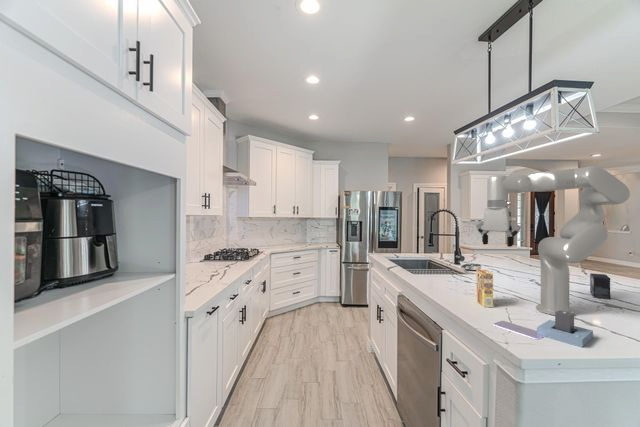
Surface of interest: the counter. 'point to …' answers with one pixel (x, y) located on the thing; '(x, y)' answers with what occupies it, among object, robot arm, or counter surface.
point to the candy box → (485, 288)
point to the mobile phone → (519, 330)
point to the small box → (600, 286)
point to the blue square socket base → (566, 334)
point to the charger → (564, 321)
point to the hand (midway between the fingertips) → (497, 245)
